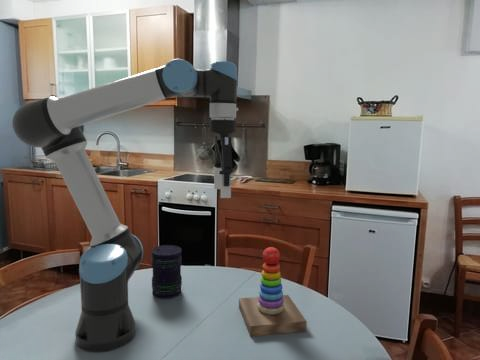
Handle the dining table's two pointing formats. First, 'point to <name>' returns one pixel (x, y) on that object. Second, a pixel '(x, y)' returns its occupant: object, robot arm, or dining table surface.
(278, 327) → the walnut base
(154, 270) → the storage jar
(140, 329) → the dining table surface
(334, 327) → the dining table surface
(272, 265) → the stacking toy
